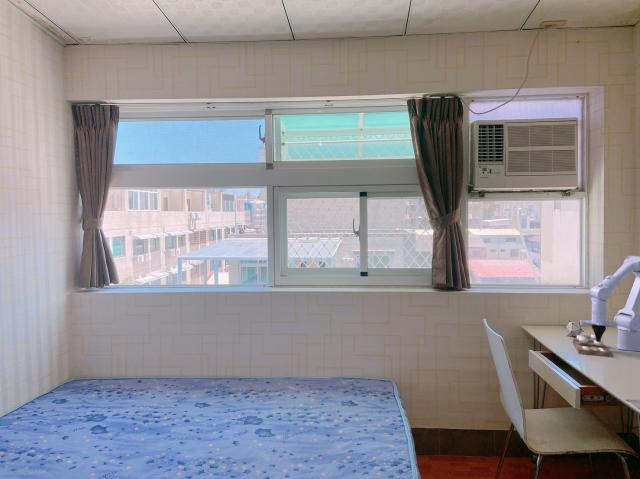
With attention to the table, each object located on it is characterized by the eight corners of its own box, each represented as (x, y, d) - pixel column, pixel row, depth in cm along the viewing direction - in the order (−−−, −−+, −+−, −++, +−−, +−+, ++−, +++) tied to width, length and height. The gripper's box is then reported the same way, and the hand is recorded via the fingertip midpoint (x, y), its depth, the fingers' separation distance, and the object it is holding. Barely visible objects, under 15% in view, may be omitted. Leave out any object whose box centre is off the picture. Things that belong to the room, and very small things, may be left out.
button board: (601, 345, 212) (601, 340, 212) (609, 356, 195) (610, 351, 195) (572, 342, 217) (572, 337, 217) (578, 353, 199) (578, 348, 199)
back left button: (584, 339, 214) (584, 335, 214) (585, 341, 211) (585, 337, 210) (576, 338, 215) (576, 334, 215) (577, 340, 212) (577, 336, 212)
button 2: (598, 338, 211) (598, 334, 211) (600, 340, 208) (600, 336, 208) (590, 337, 213) (590, 334, 213) (591, 339, 210) (591, 335, 209)
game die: (574, 344, 226) (571, 331, 221) (562, 334, 233) (558, 322, 229) (589, 335, 226) (586, 322, 221) (576, 326, 234) (573, 313, 229)
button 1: (587, 340, 207) (587, 337, 207) (588, 343, 204) (588, 339, 204) (578, 340, 209) (578, 336, 209) (579, 342, 205) (579, 338, 205)
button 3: (601, 344, 205) (601, 340, 205) (603, 346, 202) (603, 342, 202) (592, 343, 206) (593, 339, 206) (594, 345, 203) (594, 341, 203)
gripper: (582, 313, 202) (581, 342, 203) (619, 315, 197) (618, 345, 198) (579, 310, 209) (579, 338, 210) (615, 312, 203) (615, 341, 204)
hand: (598, 341), depth 204 cm, fingers closed, pressing on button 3
